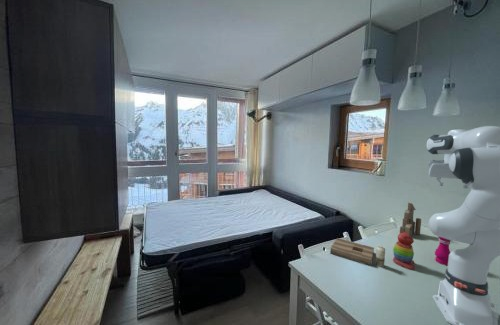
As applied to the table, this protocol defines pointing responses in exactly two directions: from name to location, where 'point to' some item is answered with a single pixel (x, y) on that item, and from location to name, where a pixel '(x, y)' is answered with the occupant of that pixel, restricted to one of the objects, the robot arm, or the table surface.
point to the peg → (380, 256)
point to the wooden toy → (410, 222)
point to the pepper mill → (442, 251)
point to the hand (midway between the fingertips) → (452, 187)
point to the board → (353, 251)
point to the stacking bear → (404, 251)
